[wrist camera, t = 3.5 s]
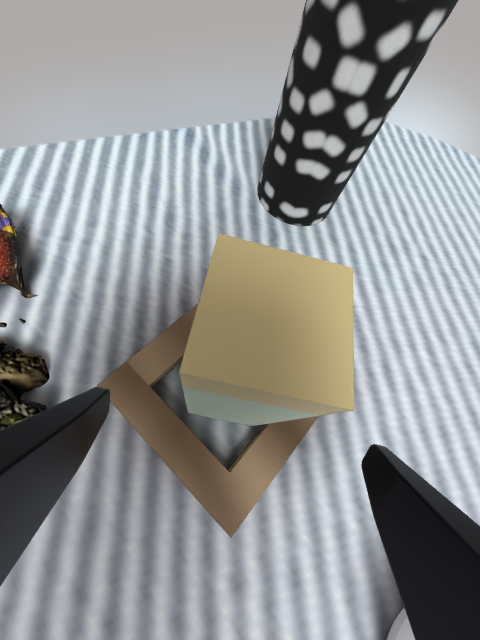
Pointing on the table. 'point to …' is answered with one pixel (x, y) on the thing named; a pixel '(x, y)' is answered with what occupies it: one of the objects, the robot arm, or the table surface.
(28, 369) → the food
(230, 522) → the slot plate
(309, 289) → the green yellow rectangular block
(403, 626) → the eye dropper bottle
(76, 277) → the table surface
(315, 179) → the white-spotted black cylinder
